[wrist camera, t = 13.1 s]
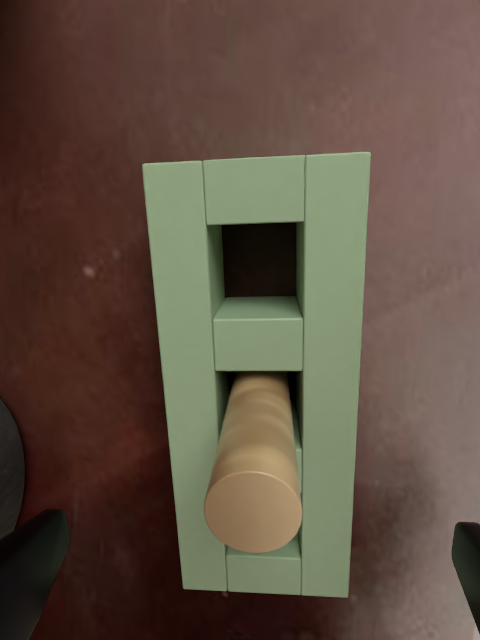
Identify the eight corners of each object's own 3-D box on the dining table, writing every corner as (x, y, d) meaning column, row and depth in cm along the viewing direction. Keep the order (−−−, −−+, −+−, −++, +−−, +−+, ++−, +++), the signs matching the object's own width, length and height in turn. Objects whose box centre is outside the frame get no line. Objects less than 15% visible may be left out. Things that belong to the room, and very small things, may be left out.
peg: (286, 345, 17) (303, 472, 8) (286, 392, 18) (302, 556, 9) (235, 346, 17) (200, 470, 9) (237, 392, 18) (206, 552, 9)
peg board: (345, 169, 15) (371, 150, 11) (333, 524, 19) (348, 598, 16) (172, 177, 16) (140, 163, 12) (199, 519, 20) (182, 589, 16)
